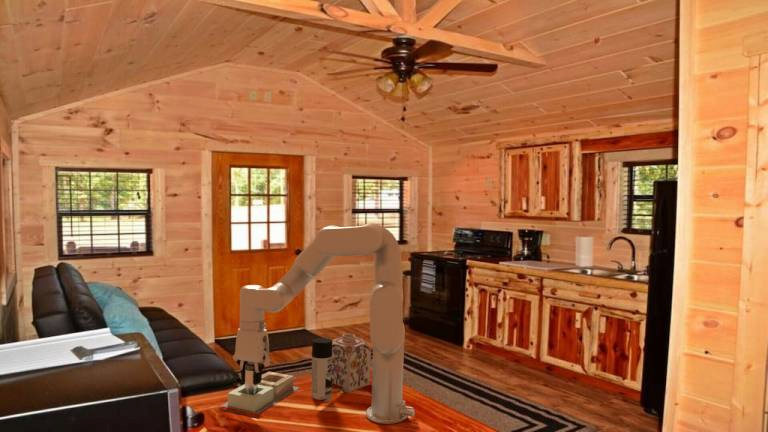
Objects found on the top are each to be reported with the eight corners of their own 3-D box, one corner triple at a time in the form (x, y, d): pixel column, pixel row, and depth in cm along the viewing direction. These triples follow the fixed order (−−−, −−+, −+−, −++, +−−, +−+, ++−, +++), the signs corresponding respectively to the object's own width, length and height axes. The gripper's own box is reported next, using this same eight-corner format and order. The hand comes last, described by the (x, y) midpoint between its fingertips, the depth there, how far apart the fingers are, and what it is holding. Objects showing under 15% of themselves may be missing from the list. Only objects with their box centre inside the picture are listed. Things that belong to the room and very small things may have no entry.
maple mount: (293, 387, 184) (293, 375, 184) (276, 397, 175) (276, 385, 175) (268, 382, 188) (268, 371, 188) (251, 392, 179) (251, 380, 179)
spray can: (328, 405, 174) (329, 343, 173) (308, 402, 175) (309, 342, 174) (334, 397, 181) (335, 338, 180) (314, 395, 182) (315, 336, 181)
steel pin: (260, 397, 172) (260, 363, 171) (252, 401, 168) (253, 366, 167) (249, 395, 173) (250, 361, 172) (241, 399, 169) (242, 365, 169)
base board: (299, 391, 185) (299, 387, 184) (258, 418, 162) (258, 414, 162) (265, 385, 190) (265, 380, 190) (220, 410, 168) (220, 405, 168)
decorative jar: (324, 385, 191) (325, 335, 191) (347, 376, 200) (348, 329, 199) (348, 394, 184) (350, 342, 183) (371, 385, 193) (372, 335, 192)
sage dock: (273, 399, 173) (273, 387, 173) (254, 411, 164) (254, 398, 164) (247, 394, 177) (247, 382, 177) (227, 405, 168) (227, 393, 168)
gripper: (281, 325, 169) (280, 382, 170) (237, 319, 176) (237, 374, 177) (267, 331, 163) (266, 390, 164) (222, 324, 169) (222, 382, 170)
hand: (251, 381), depth 170 cm, fingers closed on steel pin, 3 cm apart
